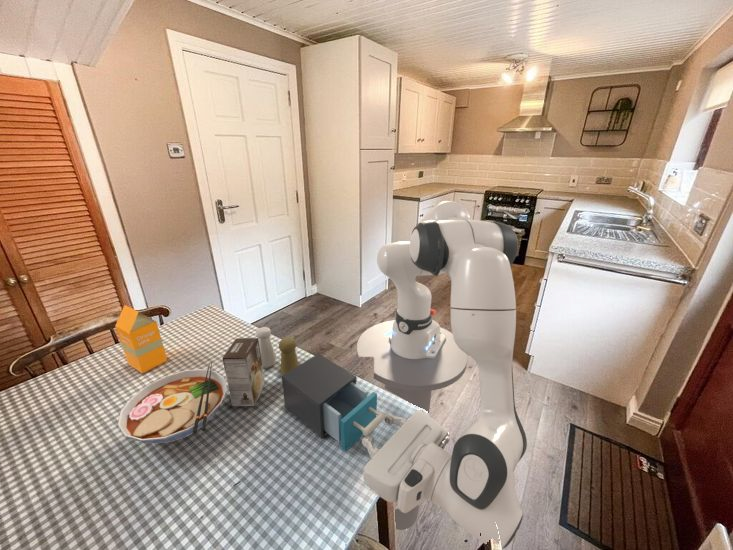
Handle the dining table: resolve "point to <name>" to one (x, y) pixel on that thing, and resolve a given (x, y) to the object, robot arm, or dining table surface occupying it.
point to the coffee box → (244, 371)
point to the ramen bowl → (173, 406)
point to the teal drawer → (351, 415)
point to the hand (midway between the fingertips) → (375, 427)
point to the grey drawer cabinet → (313, 389)
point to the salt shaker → (266, 347)
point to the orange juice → (140, 340)
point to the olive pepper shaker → (288, 355)
